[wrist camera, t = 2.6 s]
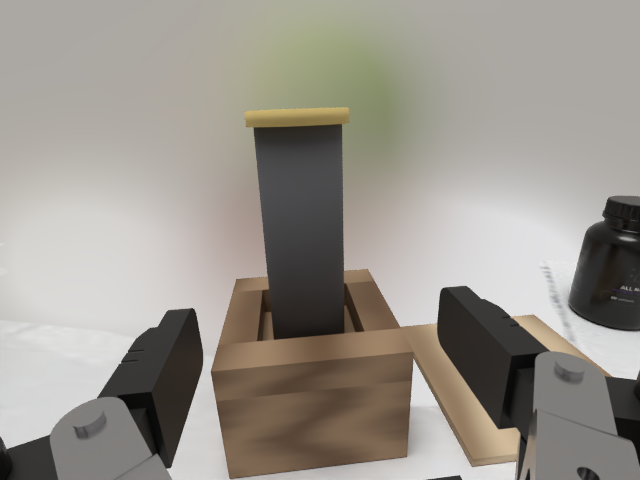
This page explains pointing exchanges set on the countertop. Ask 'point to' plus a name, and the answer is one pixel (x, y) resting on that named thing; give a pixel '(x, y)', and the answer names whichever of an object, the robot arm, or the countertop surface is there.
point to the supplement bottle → (610, 267)
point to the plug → (302, 217)
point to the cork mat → (459, 400)
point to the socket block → (311, 385)
